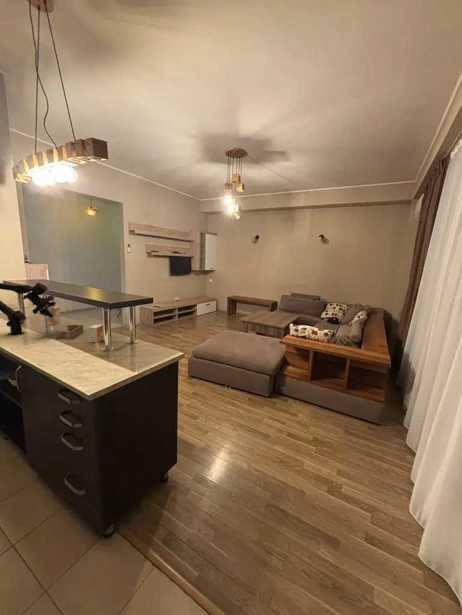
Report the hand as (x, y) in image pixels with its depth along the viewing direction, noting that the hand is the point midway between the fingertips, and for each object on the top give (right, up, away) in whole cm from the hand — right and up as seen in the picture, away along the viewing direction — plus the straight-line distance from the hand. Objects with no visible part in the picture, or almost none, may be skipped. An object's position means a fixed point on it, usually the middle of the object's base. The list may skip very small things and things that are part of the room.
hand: (54, 316), depth 171 cm
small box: (+31, -17, -4) cm, 36 cm away
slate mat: (-1, -13, +3) cm, 13 cm away
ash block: (-1, -6, +1) cm, 7 cm away
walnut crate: (+8, -13, +4) cm, 16 cm away
